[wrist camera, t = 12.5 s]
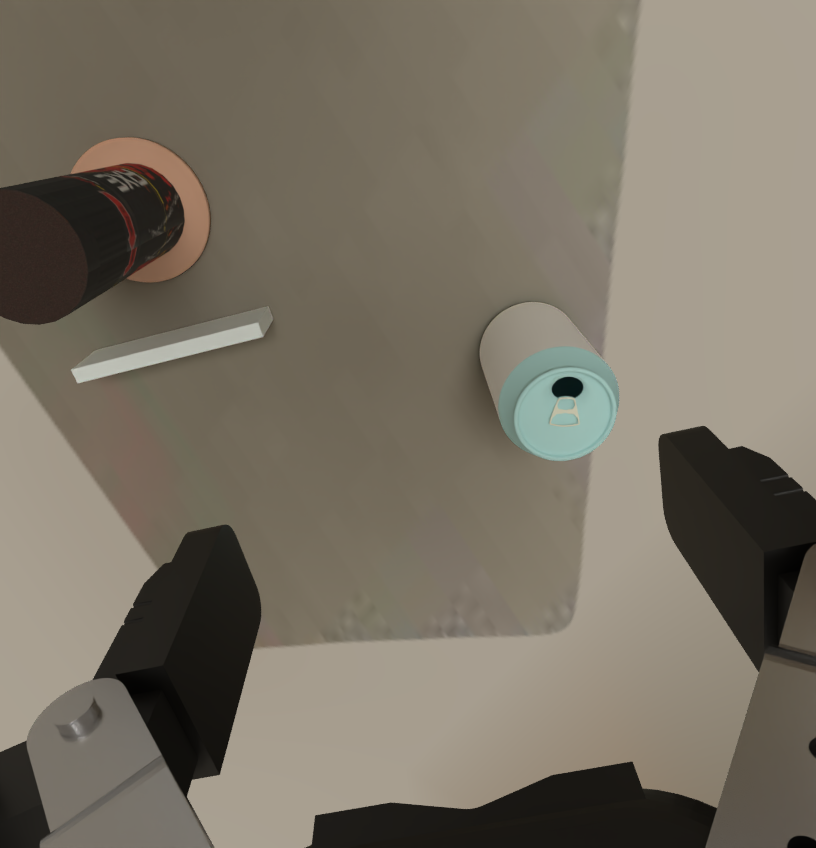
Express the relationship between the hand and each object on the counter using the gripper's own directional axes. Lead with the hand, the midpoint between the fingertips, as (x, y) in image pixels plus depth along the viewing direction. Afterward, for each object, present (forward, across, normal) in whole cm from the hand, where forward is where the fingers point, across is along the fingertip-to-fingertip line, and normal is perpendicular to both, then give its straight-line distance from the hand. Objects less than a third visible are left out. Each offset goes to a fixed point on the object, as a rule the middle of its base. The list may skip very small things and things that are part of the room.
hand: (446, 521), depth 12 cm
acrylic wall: (+35, +17, +4) cm, 39 cm away
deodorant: (+35, +17, -5) cm, 39 cm away
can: (+35, -6, +10) cm, 37 cm away
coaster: (+35, +17, -5) cm, 39 cm away
